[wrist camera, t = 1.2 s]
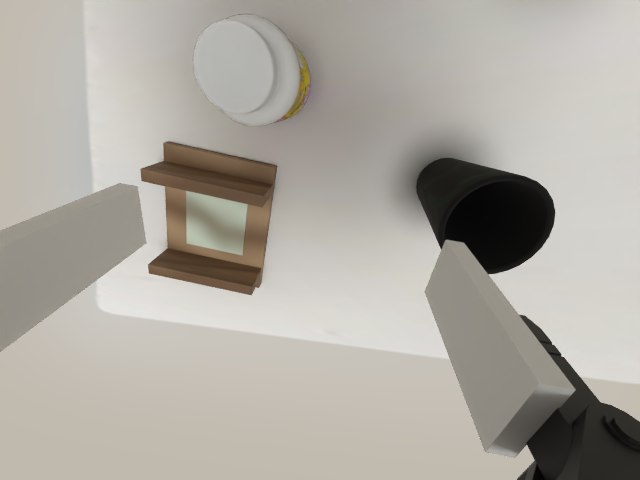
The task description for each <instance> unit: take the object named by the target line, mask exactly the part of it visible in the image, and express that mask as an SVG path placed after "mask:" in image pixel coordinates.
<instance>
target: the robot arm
mask: <svg viewBox="0 0 640 480" xmlns="http://www.w3.org/2000/svg"><path fill="white" fill-rule="evenodd" d="M144 244H146V237H145V231H144V225H143V218H142V212H141V206H140V200H139V193H138V187H137V186H133V185H127V184H121V183H119V184H117V185H114V186H111V187H109V188H106V189H104V190H101V191H99V192H96V193H94V194H91V195H89V196H87V197H84V198H81V199H79V200H76V201H74V202H71V203H69V204H66V205H64V206H61V207H59V208H56V209H54V210H51V211H49V212H46V213H44V214H41V215H39V216H36V217H33V218H31V219H29V220H26V221H23V222H21V223H19V224H16V225H13V226H11V227H9V228H6V229H3V230H1V231H0V352H1V351H2V350H3V349H4V348H6V347H7V346H9V345H10V344H11V343H13V342H14V341H15V340H17V339H18V338H19V337H21V336H22V335H23V334H25V333H26V332H27V331H29V330H30V329H31V328H33V327H34V326H36V325H37V324H38V323H39V322H41V321H42V320H44V319H45V318H46V317H48V316H49V315H50V314H52V313H53V312H54V311H56V310H57V309H58V308H60V307H61V306H62V305H64V304H65V303H66V302H68V301H69V300H70V299H72V298H73V297H75V296H76V295H77V294H79V293H80V292H81V291H83V290H84V289H85V288H87V287H88V286H89V285H91V284H92V283H93V282H95V281H96V280H97V279H99V278H100V277H101V276H103V275H104V274H105V273H107V272H108V271H109V270H111V269H112V268H113V267H115V266H116V265H118V264H119V263H120V262H122V261H123V260H124V259H126V258H127V257H128V256H130V255H131V254H132V253H134V252H135V251H136V250H138V249H139V248H140V247H142V246H143V245H144ZM425 294H426V297H427V299H428V302H429V305H430V307H431V310H432V313H433V315H434V318H435V320H436V323H437V326H438V328H439V331H440V334H441V336H442V339H443V342H444V344H445V347H446V350H447V352H448V355H449V358H450V360H451V363H452V365H453V368H454V371H455V373H456V376H457V379H458V381H459V384H460V387H461V389H462V392H463V395H464V397H465V400H466V403H467V405H468V408H469V410H470V413H471V416H472V418H473V421H474V424H475V426H476V429H477V432H478V434H479V437H480V440H481V442H482V445H483V448H484V450H485V452H487V453H492V454H498V455H504V456H509V457H514V458H515V457H516V456H517V455H518V454H519V453H520V452H521V450H522V449H523V448H524V447H525V446H526V445H528V447H529V449H530V451H531V453H532V455H533V457H534V459H535V461H534V462H533V463H532V464H531V465H530V466H529V467H528V468H527V469H526V470H525V471H524V472H523V473H522V474H521V475H520V477H518V479H517V480H640V422H639V421H637V420H636V419H634V418H633V417H632V416H630V415H629V414H627V413H626V412H624V411H622V410H620V409H618V408H616V407H613V406H612V405H608V404H604V403H601V402H600V401H599V400H598V399H597V398H596V396H595V395H594V394H593V393H592V391H591V390H590V389H589V388H588V386H587V385H586V384H585V383H584V382H583V380H582V379H581V378H580V377H579V375H578V374H577V373H576V372H575V370H574V369H573V368H572V367H571V365H570V364H569V363H568V362H567V360H566V359H565V358H564V357H561V353H560V352H559V351H558V349H557V348H556V347H555V346H554V345H552V342H551V341H550V339H549V338H548V337H547V336H546V335H545V333H544V332H543V331H542V330H541V328H539V327H538V326H537V325H536V324H534V323H533V322H532V321H531V320H529V319H528V318H527V317H526V316H523V315H519V314H518V313H517V312H516V311H515V309H514V308H513V307H512V305H511V304H510V303H509V301H508V300H507V299H506V297H505V296H504V295H503V293H502V292H501V291H500V290H499V288H498V287H497V286H496V284H495V283H494V282H493V280H492V279H491V278H490V276H489V275H488V274H487V272H486V271H485V270H484V268H483V267H482V266H481V265H480V263H479V262H478V261H477V259H476V258H475V257H474V255H473V254H472V253H471V251H470V250H469V249H468V247H467V246H466V245H465V244H464V243H463V242H457V241H451V240H445V242H444V245H443V247H442V250H441V252H440V255H439V257H438V260H437V262H436V265H435V267H434V270H433V272H432V275H431V277H430V280H429V282H428V285H427V287H426V290H425Z"/></svg>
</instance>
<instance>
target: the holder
mask: <svg viewBox="0 0 640 480" xmlns="http://www.w3.org/2000/svg"><path fill="white" fill-rule="evenodd" d="M163 145H164V161H162V162H159V163H156V164H154V165H151V166H148V167H145V168H142V169H141V179H142V181H144V182H149V183H153V184H158V185H162V186H165V194H166V218H167V242H168V248H167V249H166V250H165V251H164V252H163V253H161V254H160V255H159V256H158V257H157V258H155V259H154V260H153V261H152V262H151V263H150V264H148V268H149V273H150V274H155V275H159V276H164V277H169V278H173V279H178V280H183V281H187V282H192V283H197V284H202V285H206V286H211V287H216V288H220V289H225V290H230V291H234V292H239V293H244V294H249V295H252V293H253V291H254V289H255V287H257V288H259V287H260V284H261V279H262V272H263V265H264V257H265V250H266V243H267V235H268V228H269V221H270V213H271V206H272V199H273V191H274V184H275V177H276V170H277V166H275V165H270V164H266V163H261V162H257V161H252V160H248V159H244V158H239V157H235V156H230V155H226V154H221V153H217V152H212V151H208V150H203V149H199V148H195V147H190V146H186V145H181V144H177V143H172V142H165V143H163Z"/></svg>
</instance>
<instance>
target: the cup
mask: <svg viewBox="0 0 640 480" xmlns="http://www.w3.org/2000/svg"><path fill="white" fill-rule="evenodd" d="M416 189H417V194H418V197H419V199H420V201H421V204H422V206H423V208H424V211H425V213H426V215H427V218H428V220H429V222H430V225H431V227H432V229H433V232H434V234H435V236H436V239H437V241H438V243H439V246H440V248H441V250H442V247H443V245H444V242H445V240H451V241H457V242H463V243H464V244H465V245H466V246H467V247H468V249H469V250H470V251H471V253H472V254H473V255H474V257H475V258H476V259H477V261H478V262H479V263H480V265H481V266H482V267H483V268H484V270H485V271H486V272H487V274H495V273H499V272H503V271H507V270H510V269H512V268H514V267H516V266H519V265H521V264H522V263H524V262H525V261H527V260H528V259H530V258H531V257H532V256H533V255H534V254H535V253H536V252H537V251H538V250H539V249H540V248H541V247H542V246H543V245H544V243H545V242H546V240H547V239H548V237H549V235H550V233H551V230H552V228H553V225H554V218H555V208H554V203H553V200H552V198H551V196H550V194H549V193H548V191H547V190H546V189H545V188H544V187H543V186H542V185H541V184H539V183H538V182H537V181H535V180H532V179H530V178H527V177H525V176H521V175H517V174H513V173H509V172H505V171H501V170H497V169H493V168H489V167H485V166H481V165H477V164H473V163H469V162H465V161H461V160H457V159H452V158H443V159H439V160H436V161H434V162H432V163H430V164H429V165H428V166H426V167H425V168H424V169H423V171H422V172H421V174H420V175H419V178H418V180H417V186H416Z"/></svg>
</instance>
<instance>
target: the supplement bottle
mask: <svg viewBox="0 0 640 480" xmlns="http://www.w3.org/2000/svg"><path fill="white" fill-rule="evenodd" d="M193 66H194V72H195V76H196V80H197V82H198V84H199V87H200V88H201V90H202V92H203V93H204V95H205V96H206V97H207V98H208V99H209V100H210V101H211V102H212V103H213V104H214V105H215V106H217V107H218V108H219V109H220V110H221V111H222V112H223V113H224V114H225V115H226V116H228V117H229V118H230V119H232V120H234V121H236V122H238V123H241V124H243V125H248V126H264V125H268V124H271V123H274V122H278V121H281V120H284V119H287V118H290V117H292V116H293V115H295V114H296V113H298V112H299V111H300V110H301V109H302V107H303V106H304V104H305V103H306V101H307V99H308V96H309V92H310V85H311V79H310V73H309V69H308V66H307V64H306V61H305V59H304V58H303V56H302V55H301V53H300V52H299V50H298V49H297V48H296V47H295V46H294V45H293V44H292V42H291V41H290V40H289V39H288V38H287V37H286V35H285V34H284V33H283V32H282V31H281V30H280V29H279V28H278V27H277V26H276V25H274V24H273V23H271V22H270V21H268V20H266V19H265V18H262V17H259V16H256V15H251V14H239V15H235V16H231V17H229V18H227V19H225V20H220V21H217V22H214V23H212V24H211V25H210V26H208V27H207V28H206V29H204V31H203V32H202V33H201V35H200V36H199V38H198V40H197V42H196V45H195V49H194V54H193Z"/></svg>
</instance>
